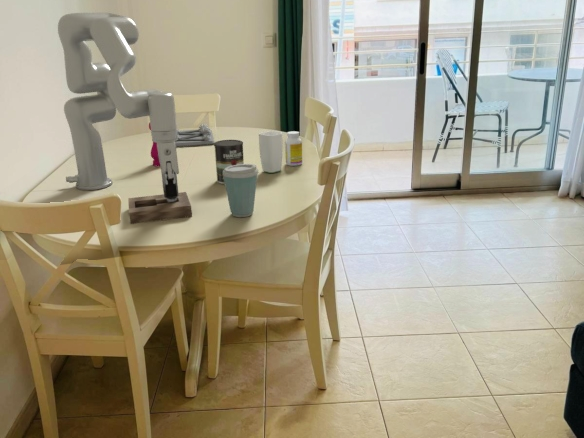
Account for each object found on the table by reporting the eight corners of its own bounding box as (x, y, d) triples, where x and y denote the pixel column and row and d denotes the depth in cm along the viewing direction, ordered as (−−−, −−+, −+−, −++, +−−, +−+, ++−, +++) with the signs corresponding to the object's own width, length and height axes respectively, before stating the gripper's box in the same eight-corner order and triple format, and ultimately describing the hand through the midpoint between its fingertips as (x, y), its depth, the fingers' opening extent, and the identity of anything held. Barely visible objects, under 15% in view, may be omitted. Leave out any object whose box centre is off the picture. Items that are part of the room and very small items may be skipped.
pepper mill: (165, 167, 217) (160, 117, 210) (148, 166, 218) (142, 117, 211) (172, 162, 223) (167, 114, 216) (156, 161, 225) (150, 113, 218)
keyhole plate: (130, 223, 158) (128, 212, 157) (129, 208, 171) (128, 198, 170) (192, 216, 163) (191, 205, 162) (187, 202, 175) (186, 191, 174)
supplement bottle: (305, 163, 216) (305, 132, 211) (294, 167, 212) (293, 135, 207) (293, 161, 220) (292, 130, 216) (282, 164, 216) (281, 132, 211)
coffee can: (249, 182, 195) (246, 143, 190) (221, 186, 191) (218, 147, 186) (239, 175, 203) (237, 138, 198) (213, 178, 200) (210, 141, 195)
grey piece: (169, 135, 275) (168, 122, 273) (211, 133, 279) (210, 119, 276) (168, 149, 248) (166, 134, 245) (215, 146, 251) (213, 131, 249)
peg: (165, 213, 165) (160, 172, 160) (163, 208, 169) (159, 168, 165) (182, 211, 166) (178, 170, 161) (180, 206, 171) (176, 166, 166)
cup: (272, 167, 212) (271, 130, 206) (285, 171, 207) (284, 132, 201) (258, 171, 207) (256, 133, 202) (271, 175, 202) (269, 136, 197)
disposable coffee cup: (218, 217, 161) (215, 169, 156) (235, 206, 171) (231, 160, 165) (251, 221, 158) (248, 172, 152) (265, 209, 167) (263, 162, 162)
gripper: (180, 140, 153) (186, 201, 159) (175, 128, 168) (180, 184, 174) (153, 142, 151) (160, 203, 157) (150, 130, 166) (157, 187, 173)
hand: (171, 193), depth 166 cm, fingers closed on peg, 4 cm apart
